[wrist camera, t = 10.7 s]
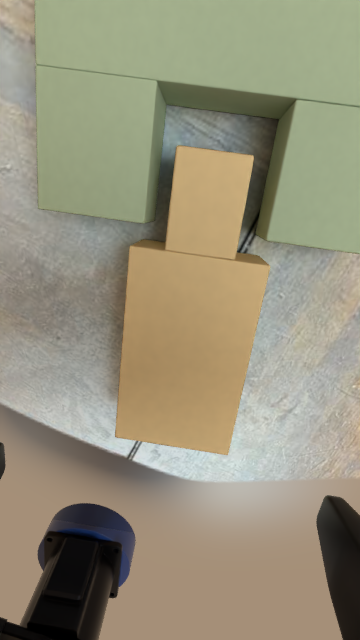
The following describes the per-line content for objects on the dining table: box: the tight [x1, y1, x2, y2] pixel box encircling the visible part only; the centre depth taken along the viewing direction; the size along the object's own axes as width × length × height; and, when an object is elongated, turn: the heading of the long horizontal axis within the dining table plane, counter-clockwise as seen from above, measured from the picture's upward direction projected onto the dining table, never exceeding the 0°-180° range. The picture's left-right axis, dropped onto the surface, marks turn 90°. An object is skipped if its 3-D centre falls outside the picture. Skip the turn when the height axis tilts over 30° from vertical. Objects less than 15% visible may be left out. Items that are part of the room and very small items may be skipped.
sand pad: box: [115, 145, 270, 455], centre depth 16 cm, size 14×6×3 cm, turn 173°
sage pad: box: [35, 0, 360, 254], centre depth 12 cm, size 14×14×3 cm
